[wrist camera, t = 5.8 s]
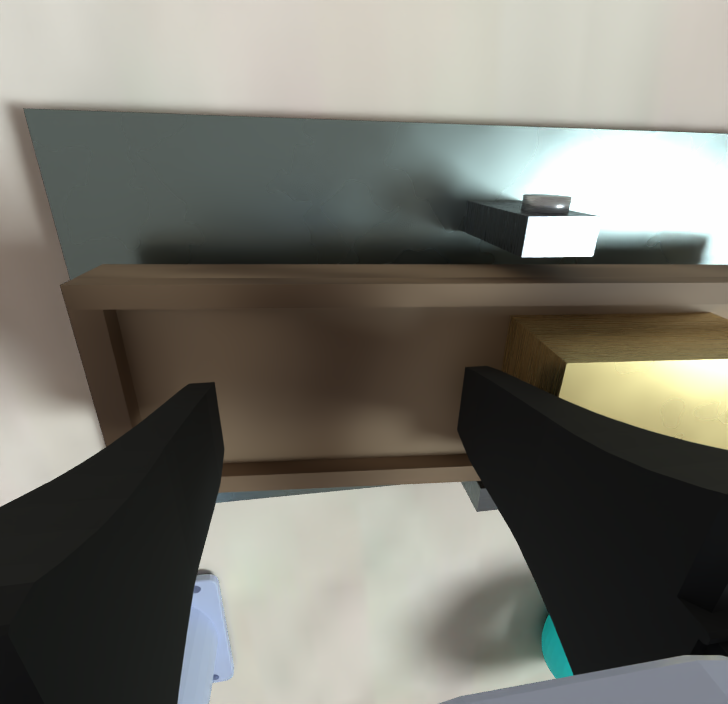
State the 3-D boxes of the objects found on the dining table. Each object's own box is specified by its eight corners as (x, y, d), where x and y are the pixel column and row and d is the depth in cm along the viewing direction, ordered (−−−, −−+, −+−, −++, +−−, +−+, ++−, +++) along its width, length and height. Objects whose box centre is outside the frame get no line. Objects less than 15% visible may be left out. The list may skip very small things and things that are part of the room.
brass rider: (488, 444, 14) (529, 516, 11) (510, 315, 12) (567, 363, 9) (663, 437, 14) (744, 504, 11) (710, 312, 12) (820, 356, 10)
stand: (141, 492, 18) (92, 606, 13) (42, 112, 12) (-103, 86, 8) (697, 441, 22) (802, 514, 18) (825, 139, 16) (1032, 133, 12)
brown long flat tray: (147, 452, 14) (120, 497, 12) (102, 264, 12) (59, 285, 10) (790, 428, 16) (851, 463, 15) (876, 264, 14) (965, 281, 12)
